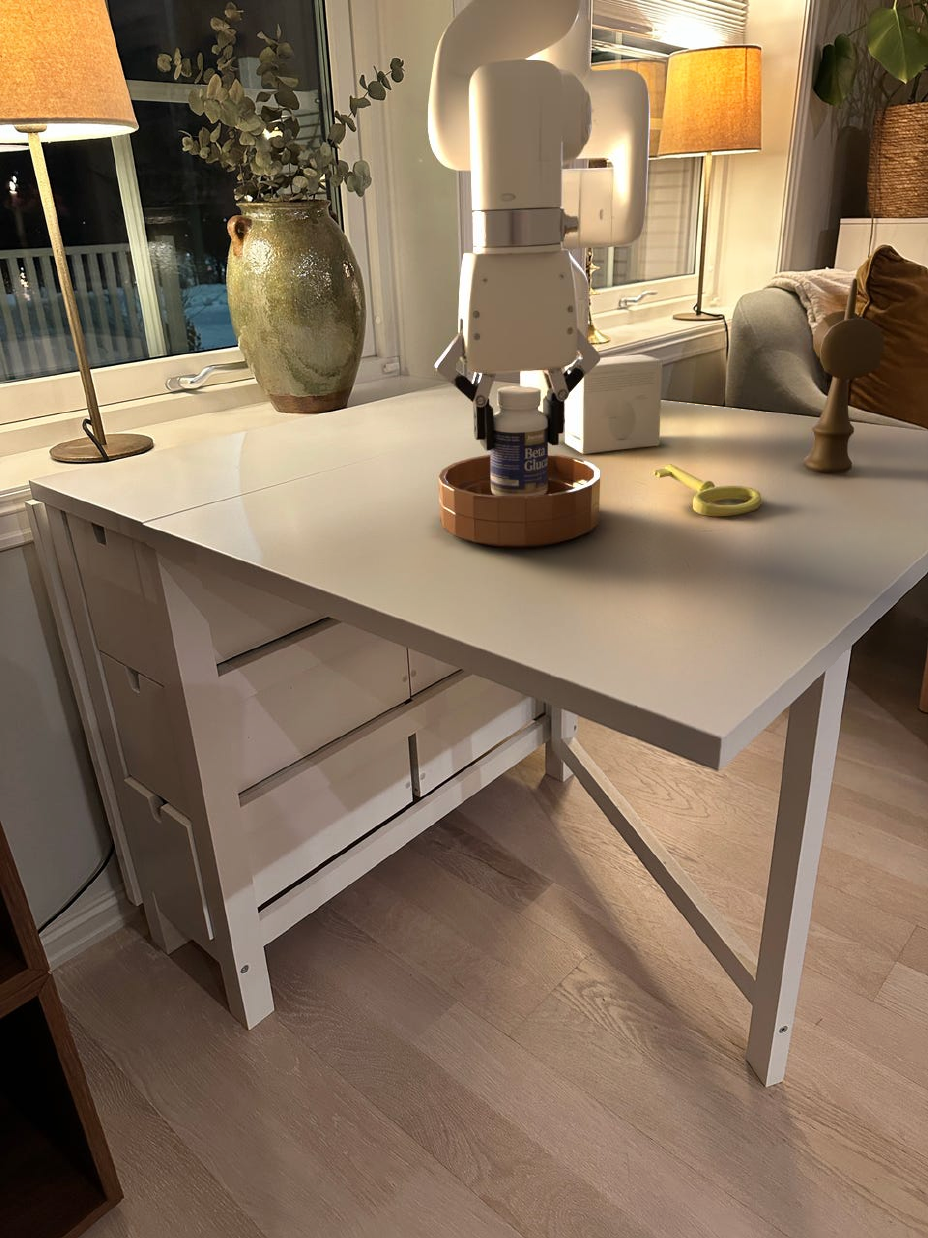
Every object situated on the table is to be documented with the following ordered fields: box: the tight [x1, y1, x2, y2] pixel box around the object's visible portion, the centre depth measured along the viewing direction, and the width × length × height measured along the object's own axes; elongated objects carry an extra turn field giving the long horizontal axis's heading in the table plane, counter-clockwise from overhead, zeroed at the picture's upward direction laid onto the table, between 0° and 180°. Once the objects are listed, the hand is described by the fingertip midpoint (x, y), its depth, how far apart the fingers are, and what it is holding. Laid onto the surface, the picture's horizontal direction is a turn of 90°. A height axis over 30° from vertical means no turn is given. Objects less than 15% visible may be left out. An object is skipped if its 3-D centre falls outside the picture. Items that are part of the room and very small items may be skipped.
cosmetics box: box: [564, 353, 664, 455], centre depth 109 cm, size 10×6×10 cm, turn 105°
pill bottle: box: [489, 385, 549, 496], centre depth 82 cm, size 5×5×10 cm
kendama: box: [803, 278, 885, 474], centre depth 94 cm, size 6×10×20 cm, turn 167°
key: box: [652, 463, 762, 517], centre depth 90 cm, size 7×12×2 cm, turn 44°
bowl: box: [437, 453, 601, 548], centre depth 85 cm, size 15×15×5 cm
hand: (518, 442), depth 82 cm, fingers closed on pill bottle, 5 cm apart
